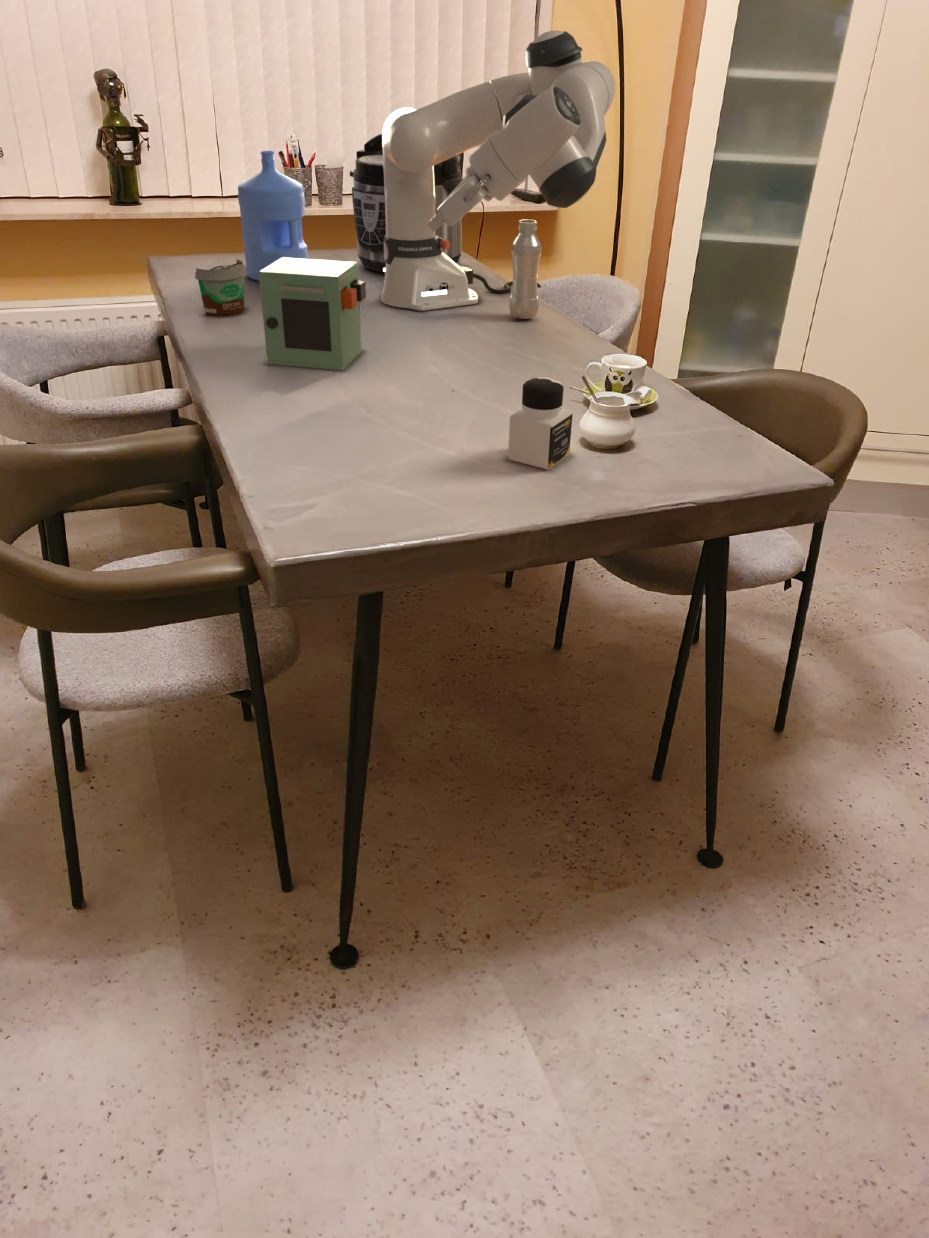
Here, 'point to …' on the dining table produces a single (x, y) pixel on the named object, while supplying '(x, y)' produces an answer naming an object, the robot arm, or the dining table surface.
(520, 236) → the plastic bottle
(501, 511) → the dining table surface
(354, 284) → the timer button
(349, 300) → the button
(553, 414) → the medicine bottle
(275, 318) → the green box
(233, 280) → the food container
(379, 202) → the pressure cooker
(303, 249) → the water jug
